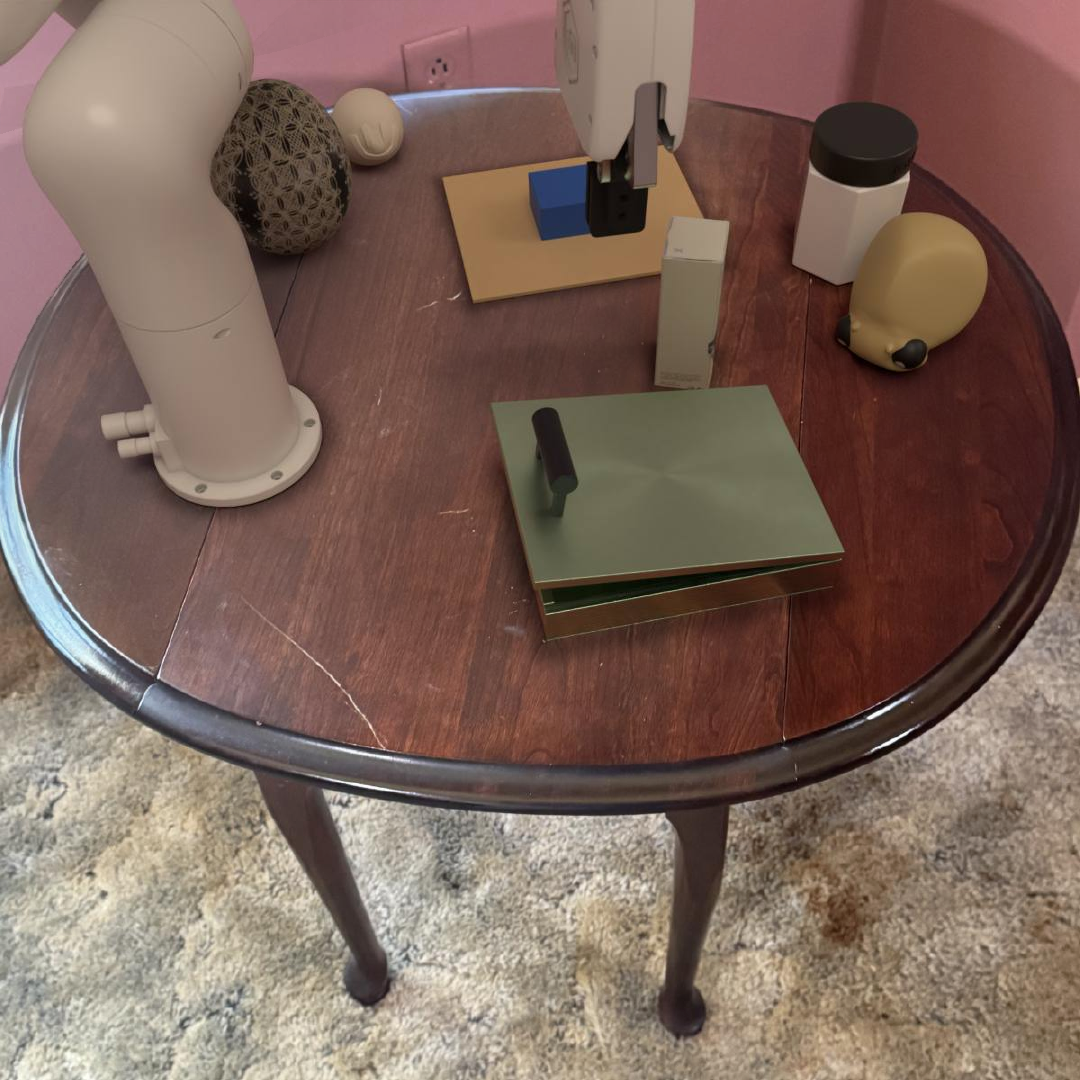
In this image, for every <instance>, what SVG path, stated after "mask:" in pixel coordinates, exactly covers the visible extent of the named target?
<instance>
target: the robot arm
mask: <svg viewBox="0 0 1080 1080" xmlns="http://www.w3.org/2000/svg"><path fill="white" fill-rule="evenodd" d="M555 5H556V6H555V25H554V27H555V28H554V29H555V30H554V48H553V49H554V52H553V64H554V72H555V77H556V81H557V84H558V88H559V90H560V93H561V96H562V99H563V101H564V104H565V107H566V110H567V113H568V115H569V118H570V120H571V124H572V126H573V128H574V130H575V133H576V135H577V138H578V141H579V143H580V145H581V148H582V150H583V152H584V153H585V154H586V156H589V157H590V158H591V159H592V160H594V161H587V167H586V199H585V219H586V222H587V224H588V225H589V230H590V233H591V235H592V236H593V237H595V238H599V237H607V236H615V235H623V234H631V233H638V232H641V231H643V230H644V228H645V225H646V213H647V201H648V189H649V188H650V187H656V185H657V151H658V146H659V144H658V143H659V142H658V140H659V139H660V141H661V144H662V145H664V147H665V149H666V150H667V151H668V152H669V153H673V154H674V152H676V151H677V150H678V148H679V147H680V146H681V144H682V142H683V138H684V133H685V128H686V123H687V116H688V109H689V108H688V107H689V101H690V100H689V99H690V90H691V78H692V77H691V76H692V65H693V50H694V36H695V35H694V33H695V14H696V13H695V11H696V0H556V3H555ZM54 13H55V14H57V15H58V16H59V17H60V18H61V19H62V20H64V21H65V23H67V24H69V26H71V27H72V28H73V29H75V30H74V31H73V33H71V35H70V36H69V37H68V39H67V40H66V42H65V43H64V44H63V45H62V47H61V48H60V49H59V51H58V52H57V53H56V54H55V56H54V57H53V59H52V60H51V62H49V64H48V66H47V67H46V68H45V69H44V71H43V73H42V74H41V76H40V77H39V78H38V81H37V83H36V85H35V86H34V88H33V90H32V92H31V94H30V97H29V99H28V103H27V105H26V109H25V113H24V116H23V120H22V121H23V122H22V136H21V137H22V146H23V153H24V158H25V161H26V163H27V165H28V168H29V170H30V173H31V175H32V176H33V179H34V180H35V182H36V184H37V185H38V187H39V188H40V190H41V191H42V193H43V194H44V196H45V197H46V198H47V200H48V201H49V202H50V204H51V206H52V207H53V208H54V209H55V211H56V212H57V213H58V215H59V216H60V218H61V219H62V220H63V222H64V223H65V225H66V226H67V228H68V229H69V231H70V232H71V234H72V235H73V237H74V238H75V240H76V242H77V243H78V245H79V247H80V249H81V250H82V252H83V254H84V256H85V258H86V260H87V262H88V264H89V266H90V267H91V270H92V272H93V274H94V277H95V278H96V281H97V283H98V285H99V287H100V289H101V292H102V295H103V296H104V299H105V301H106V303H107V305H108V308H109V309H110V311H111V313H112V315H113V318H114V321H115V323H116V324H117V326H118V329H119V332H120V334H121V336H122V339H123V340H124V343H125V345H126V348H127V350H128V352H129V354H130V357H131V359H132V362H133V364H134V366H135V368H136V370H137V372H138V375H139V377H140V380H141V382H142V384H143V387H144V388H145V391H146V393H147V396H148V398H149V400H150V402H151V403H146V404H144V405H143V408H142V410H135V411H119V412H114V413H107V414H102V415H100V426H101V431H102V434H103V437H104V438H105V440H106V441H115V440H117V444H116V445H117V452H118V455H119V458H120V459H122V460H124V459H130V458H136V457H140V456H141V455H148V454H152V456H153V457H152V458H153V462H154V465H155V468H156V471H157V473H158V475H159V477H160V479H161V480H162V481H163V483H164V484H165V486H166V487H167V488H168V489H169V490H171V491H172V492H173V493H174V494H175V495H177V496H178V497H180V498H182V499H183V500H186V501H187V502H191V503H194V504H197V505H200V506H207V507H214V508H233V507H235V508H236V507H241V506H247V505H252V504H255V503H257V502H261V501H264V500H268V499H269V498H271V497H274V496H276V495H278V494H280V493H282V492H284V491H285V490H286V489H287V488H290V487H291V486H292V485H293V484H295V483H296V482H297V481H299V480H300V479H301V478H302V477H303V476H304V475H305V474H306V473H307V472H308V471H309V469H310V468H311V467H312V465H313V464H314V463H315V461H316V459H317V457H318V454H319V452H320V450H321V446H322V441H323V426H322V422H321V419H320V415H319V412H318V410H317V408H316V405H315V403H314V402H313V401H312V400H311V398H309V396H308V395H306V393H304V392H302V390H300V389H299V388H297V387H295V386H293V385H291V384H289V382H288V379H287V375H286V372H285V369H284V365H283V362H282V359H281V354H280V352H279V349H278V344H277V342H276V339H275V335H274V331H273V327H272V324H271V322H270V318H269V315H268V311H267V307H266V304H265V301H264V297H263V294H262V291H261V287H260V284H259V280H258V277H257V273H256V270H255V266H254V263H253V260H252V258H251V254H250V251H249V247H248V244H247V241H246V240H245V238H244V236H243V233H242V231H241V229H240V227H239V225H238V223H237V221H236V219H235V218H234V216H233V215H232V213H231V212H230V211H229V210H228V209H227V208H226V207H225V206H224V205H223V203H222V202H221V201H220V200H219V198H218V197H217V196H216V194H215V192H214V190H213V188H212V184H211V178H210V171H211V164H212V159H213V157H214V155H215V152H216V151H217V149H218V147H219V145H220V143H221V141H222V139H223V137H224V134H225V132H226V130H227V128H228V126H229V124H230V123H231V121H232V119H233V117H234V115H235V113H236V112H237V110H238V108H239V106H240V104H241V102H242V100H243V98H244V96H245V94H246V91H247V89H248V87H249V84H250V82H252V78H253V74H254V67H255V52H254V45H253V40H252V37H251V33H250V31H249V29H248V26H247V24H246V21H245V19H244V18H243V16H242V14H241V12H240V11H239V9H238V8H237V6H236V5H235V3H234V2H233V0H0V67H2V66H3V65H5V64H7V63H8V62H10V60H12V58H14V57H15V56H16V55H17V54H18V53H20V51H22V50H23V49H24V47H26V46H27V45H28V43H30V41H31V40H32V39H33V38H34V37H35V36H36V34H37V33H38V32H39V31H40V30H41V28H42V27H43V26H44V25H45V24H46V22H47V21H48V20H49V19H50V17H51V16H52V15H53V14H54ZM147 433H148V435H149V436H144V437H133V436H136V435H140V434H141V435H142V434H147ZM132 437H133V438H132ZM125 438H126V439H125ZM120 439H121V440H120Z"/></svg>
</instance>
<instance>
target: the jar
mask: <svg viewBox="0 0 1080 1080" xmlns="http://www.w3.org/2000/svg"><path fill="white" fill-rule="evenodd" d="M919 135H920V134H919V130H918V127H917V125H916V123H915V122H914V120H913V119H912V118H910V117H909V116H908V115H907V114H906V113H904V112H902V111H901V110H898V109H896V108H895V107H893V106H889V105H886V104H883V103H882V104H881V103H879V102H872V101H849V102H842V103H839V104H835V105H832V106H830V107H828V108H826V109H825V110H823V111H822V112H821V113H820V114H819V115H818V116H817V117H816V119H815V121H814V123H813V126H812V131H811V138H810V143H809V148H808V154H807V160H806V165H805V170H804V175H803V181H802V188H801V191H800V197H799V203H798V208H797V214H796V215H797V216H796V220H795V225H794V232H793V243H792V254H791V255H792V256H791V265H792V266H794V267H796V268H799V269H800V270H803V271H805V272H806V273H809V274H810V275H813V276H816V277H817V278H820V279H822V280H824V281H826V282H828V283H831V284H832V285H834V286H841V285H846V284H849V283H854V280H855V277H856V274H857V271H858V269H859V266H860V264H861V262H862V259H863V257H864V255H865V253H866V251H867V249H868V248H869V246H870V244H871V242H872V241H873V239H874V237H875V236H876V234H877V233H878V232H879V230H880V229H881V228H882V227H883V226H884V225H885V224H886V223H887V222H888V221H889V220H890V219H892V218H894V217H896V216H898V215H901V214H902V210H903V206H904V202H905V200H906V195H907V192H908V188H909V184H910V181H911V178H910V177H911V174H910V171H911V167H912V165H913V162H914V161H915V157H916V154H917V150H918V142H919V137H920V136H919Z"/></svg>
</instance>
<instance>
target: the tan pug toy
mask: <svg viewBox="0 0 1080 1080" xmlns="http://www.w3.org/2000/svg"><path fill="white" fill-rule="evenodd" d="M988 274H989V269H988V261H987V257H986V253H985V251H984V249H983V247H982V245H981V243H980V242H979V240H978V238H977V237H976V236H975V235H974V234H973V233H972V232H971V231H970V230H969V229H968V228H967V227H965V226H964V225H962V224H961V223H959V222H958V221H956V220H954V219H952V218H951V217H948V216H945V215H941V214H938V213H933V212H925V211H924V212H923V211H919V212H918V211H916V212H915V211H914V212H907V213H906V212H905V213H901V214H900V215H898V216H896V217H894V218H892V219H890V220H889V221H888V222H887V223H886V224H885V225H884V226H883V227H882V228H881V229H880V230H879V232H878V233H877V234H876V236H875V237H874V239H873V241H872V242H871V244H870V246H869V248H868V249H867V251H866V253H865V255H864V257H863V259H862V262H861V264H860V266H859V269H858V271H857V274H856V277H855V280H854V281H853V282H852V287H851V293H850V300H849V307H848V314H845V315H843V316H842V317H841V318H840V319H839V321H838V322H837V324H836V326H835V331H834V333H835V334H834V335H835V337H836V339H837V341H838V342H839V344H841V345H843V346H845V347H847V349H848V350H849V351H851V352H852V353H853V354H854V355H856V356H858V357H859V358H861V359H863V360H865V362H866V361H867V362H868V363H871V364H873V365H874V366H877V367H880V368H882V369H884V370H885V369H886V370H889V371H894V372H909V371H913V370H916V369H918V368H921V367H922V366H924V365H925V364H926V362H927V360H928V353H929V351H931V350H932V349H935V348H936V347H938V346H940V345H942V344H944V343H946V342H948V341H950V340H951V339H952V338H954V337H955V336H957V335H958V334H959V333H960V332H961V331H962V330H964V328H965V327H966V326H967V325H968V324H969V323H970V321H972V319H973V318H974V316H975V314H976V313H977V311H978V310H979V308H980V306H981V304H982V301H983V299H984V296H985V293H986V289H987V285H988Z"/></svg>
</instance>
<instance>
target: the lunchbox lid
mask: <svg viewBox="0 0 1080 1080" xmlns="http://www.w3.org/2000/svg"><path fill="white" fill-rule="evenodd" d="M489 413H490V417H491V421H492V424H493V425H492V426H493V429H494V433H495V437H496V441H497V445H498V449H499V453H500V457H501V461H502V466H503V471H504V474H505V478H506V483H507V486H508V490H509V491H508V492H509V494H510V499H511V503H512V506H513V511H514V515H515V519H516V524H517V527H518V532H519V535H520V539H521V545H522V548H523V552H524V556H525V561H526V564H527V569H528V573H529V576H530V580H531V586H532V588H533V590H534V591H535V590H539V589H549V588H559V587H569V586H579V585H588V584H598V583H608V582H618V581H628V580H638V579H648V578H658V577H667V576H677V575H687V574H697V573H707V572H717V571H727V570H736V569H746V568H756V567H766V566H776V565H786V564H796V563H805V562H815V561H825V560H835V559H842V558H843V557H844V554H845V552H846V551H845V549H844V546H843V544H842V542H841V540H840V538H839V536H838V534H837V531H836V529H835V527H834V525H833V523H832V520H831V518H830V516H829V515H828V512H827V509H826V507H825V506H824V504H823V501H822V499H821V497H820V495H819V493H818V490H817V489H816V487H815V484H814V482H813V480H812V478H811V476H810V473H809V471H808V469H807V467H806V464H805V463H804V460H803V459H802V456H801V455H800V451H799V450H798V447H797V446H796V443H795V442H794V441H795V440H794V439H793V438H792V435H791V433H790V430H789V428H788V427H787V425H786V422H785V420H784V418H783V415H782V414H781V412H780V409H779V407H778V405H777V403H776V401H775V399H774V397H773V395H772V392H771V390H770V388H769V385H768V384H754V385H740V386H726V387H724V386H723V387H709V388H707V389H678V390H664V391H647V392H632V393H616V394H603V395H587V396H586V395H585V396H572V397H571V396H570V397H556V398H554V397H553V398H542V399H541V398H539V399H527V400H526V399H525V400H510V401H508V400H507V401H496V402H494V401H493V402H490V406H489Z"/></svg>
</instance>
